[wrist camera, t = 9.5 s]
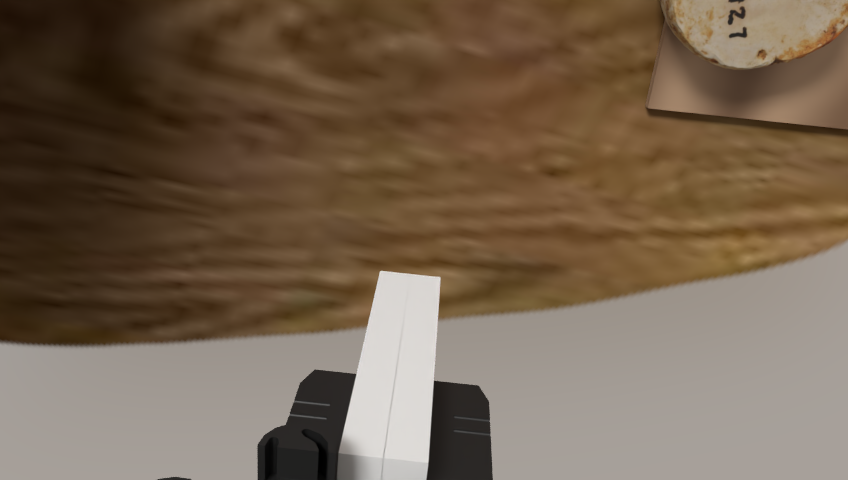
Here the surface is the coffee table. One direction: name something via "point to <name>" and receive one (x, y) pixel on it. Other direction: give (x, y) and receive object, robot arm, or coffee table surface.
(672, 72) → the walnut board
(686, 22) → the stone disc
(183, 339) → the coffee table surface
